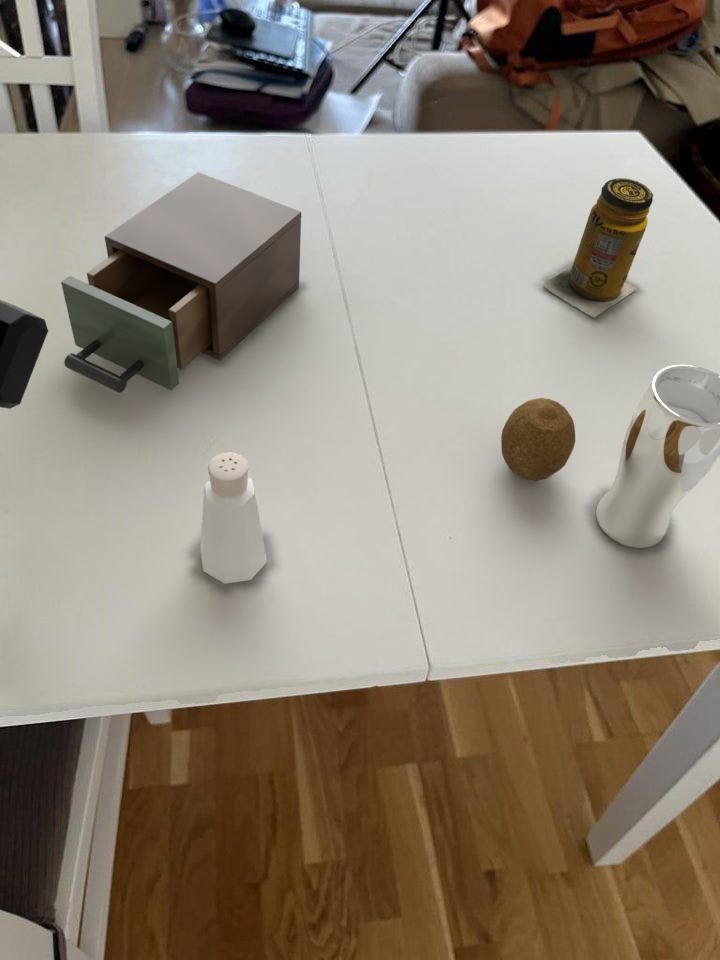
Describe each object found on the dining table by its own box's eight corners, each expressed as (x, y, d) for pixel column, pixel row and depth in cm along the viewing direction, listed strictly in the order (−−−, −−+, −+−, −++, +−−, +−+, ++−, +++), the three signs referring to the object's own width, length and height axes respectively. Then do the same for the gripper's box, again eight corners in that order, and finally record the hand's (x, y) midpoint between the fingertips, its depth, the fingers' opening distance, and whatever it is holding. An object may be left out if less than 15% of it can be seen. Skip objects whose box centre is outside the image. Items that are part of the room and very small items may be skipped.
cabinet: (220, 361, 81) (215, 283, 74) (117, 314, 84) (104, 236, 77) (299, 287, 90) (301, 211, 83) (203, 247, 93) (198, 171, 86)
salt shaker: (258, 591, 64) (256, 501, 56) (190, 578, 64) (178, 487, 56) (274, 536, 68) (275, 443, 59) (210, 524, 68) (201, 431, 60)
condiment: (636, 290, 94) (674, 193, 85) (593, 319, 90) (629, 221, 81) (584, 260, 98) (616, 164, 89) (540, 287, 93) (569, 189, 84)
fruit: (519, 506, 72) (542, 442, 66) (479, 457, 75) (497, 393, 69) (575, 483, 74) (602, 420, 68) (533, 437, 78) (556, 373, 72)
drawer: (143, 416, 74) (133, 354, 69) (45, 368, 77) (27, 304, 72) (254, 315, 85) (252, 254, 79) (163, 276, 88) (156, 214, 82)
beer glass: (677, 507, 73) (751, 381, 62) (662, 565, 69) (738, 441, 58) (601, 479, 75) (659, 351, 63) (581, 533, 70) (640, 406, 59)
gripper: (-15, 205, 44) (143, 277, 59) (-252, 102, 49) (-51, 193, 64) (-86, 398, 45) (86, 421, 60) (-311, 279, 50) (-100, 327, 65)
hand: (3, 334), depth 62 cm, fingers closed
